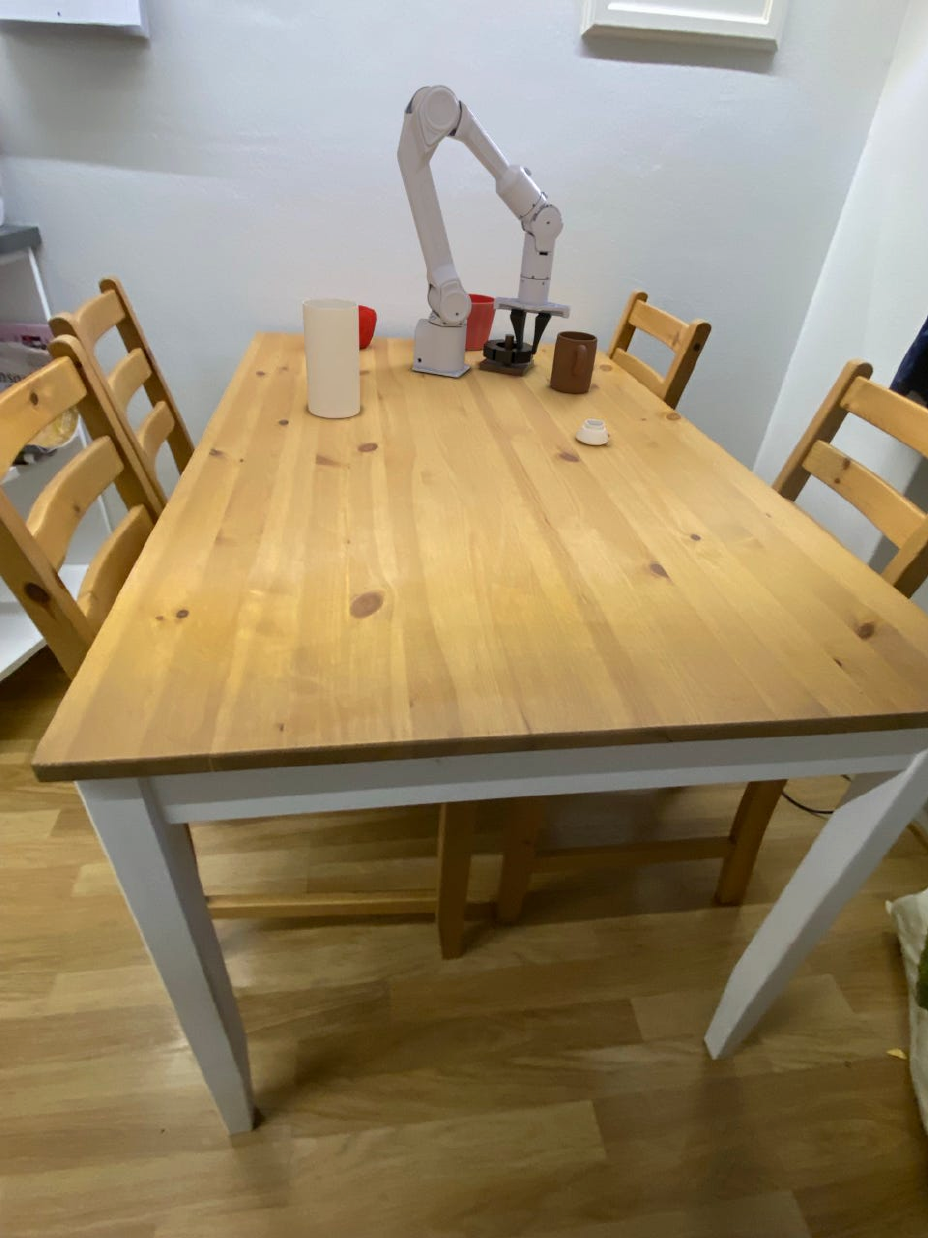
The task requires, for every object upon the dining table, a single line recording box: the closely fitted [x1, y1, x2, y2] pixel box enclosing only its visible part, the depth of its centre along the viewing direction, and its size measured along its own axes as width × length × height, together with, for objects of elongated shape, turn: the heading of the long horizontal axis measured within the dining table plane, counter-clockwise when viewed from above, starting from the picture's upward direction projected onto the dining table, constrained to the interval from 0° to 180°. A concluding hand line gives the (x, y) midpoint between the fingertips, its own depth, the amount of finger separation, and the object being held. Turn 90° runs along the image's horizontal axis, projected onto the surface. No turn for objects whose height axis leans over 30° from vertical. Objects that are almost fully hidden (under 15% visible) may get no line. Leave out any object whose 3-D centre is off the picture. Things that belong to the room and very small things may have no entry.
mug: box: [549, 330, 599, 394], centre depth 127 cm, size 12×8×9 cm, turn 0°
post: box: [478, 333, 535, 377], centre depth 139 cm, size 9×9×6 cm
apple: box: [358, 304, 378, 349], centre depth 143 cm, size 9×9×8 cm
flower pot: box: [465, 293, 497, 351], centre depth 150 cm, size 11×11×10 cm
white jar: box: [575, 418, 610, 446], centre depth 108 cm, size 5×3×5 cm
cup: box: [302, 297, 361, 419], centre depth 108 cm, size 8×8×16 cm
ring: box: [482, 338, 534, 364], centre depth 138 cm, size 10×10×2 cm
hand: (526, 352), depth 138 cm, fingers closed on ring, 2 cm apart
